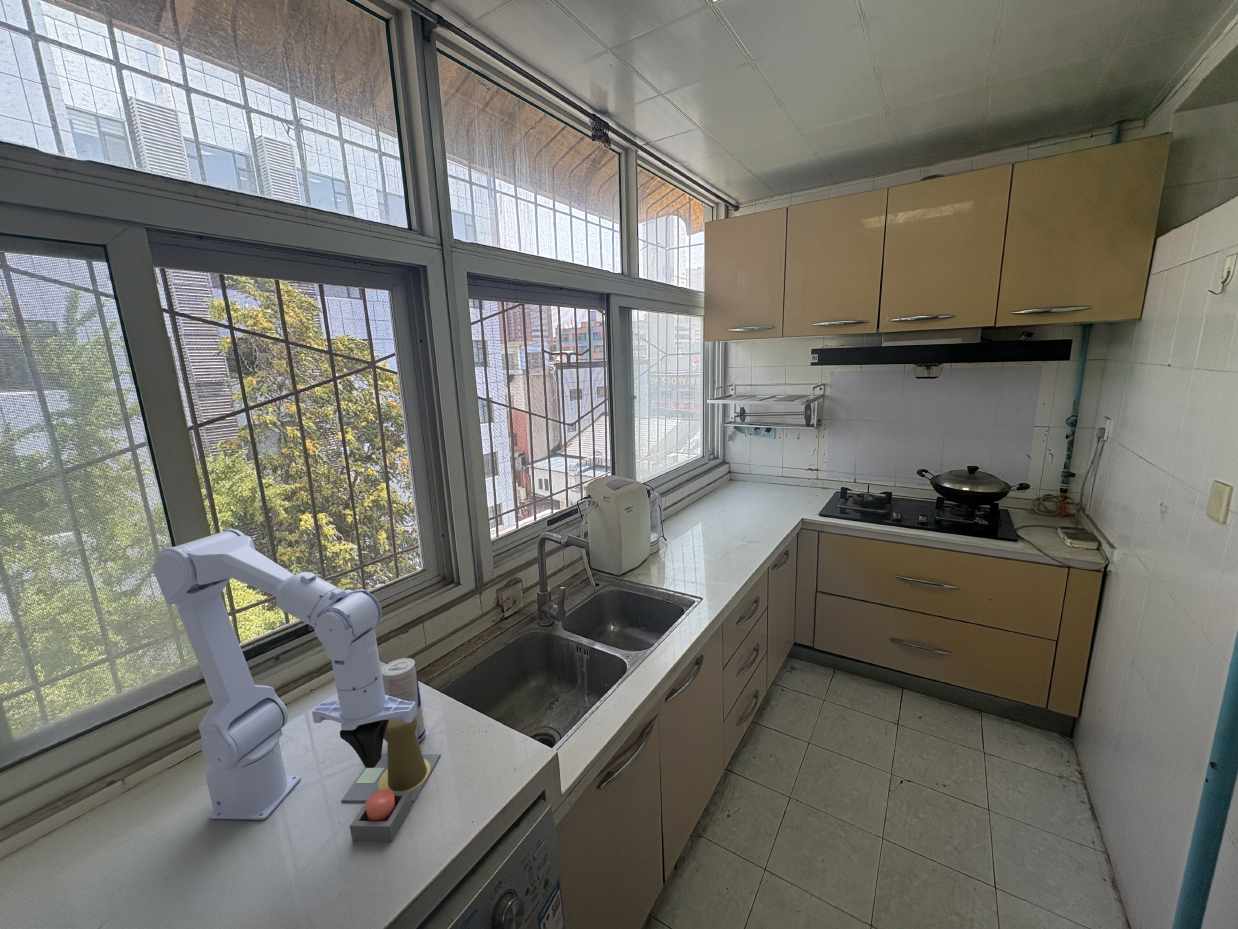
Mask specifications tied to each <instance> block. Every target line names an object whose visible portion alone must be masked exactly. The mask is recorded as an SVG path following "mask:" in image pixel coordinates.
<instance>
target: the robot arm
mask: <svg viewBox="0 0 1238 929" xmlns="http://www.w3.org/2000/svg"><path fill="white" fill-rule="evenodd" d="M152 570H153V573H154V576H155V578H156V582H157V584H158V586H159V588H160V590H161V594H162V596H163V598H164V600H165V602H166V604H167V605H175V608H176V610H177V613H178V615H179V618H180V621H181V623H182V626H183V629H184V631H185V633H186V636H187V639H188V640H189V642H190V646H191V648H192V650H193V653H194V656H195V659H196V661H197V664H198V666H199V668H200V671H201V673H202V677H203V678H204V682H205V684H206V687H207V689H208V692H209V693H210V694H209V695H210V697H211V699H212V701H213V703H212V704H211V705H210V708H209V709H208V711H207V712H206V714H205V715H204V717H203V719H202V720H201V721H200V723H199V725H198V729H199V734H200V737H201V752H202V754H203V757H204V758H205V760H206V761H207V762H208V763H209V765H208V767H207V771H206V779H205V780H206V783H207V784H206V785H207V789H208V792H209V793H208V794H209V796H210V801H211V804H212V809H213V811H211V813H210V814H209V816H208V818H209V819H211V820H212V819H214V820H265V819H267V818H268V816H270V815H271V813H273V811H274V810H275V809H276V808H277V807H278V806H279V804H280V803H281V802H282V801H283V800H284V799H285V798H286V796H287V795H288V794H289V793H290V792H291V791H292V790H293V788H295V786H296V785H297V784H298V783H299V782H300V780H301V779H302V776H301V775H287V774H286V769H285V764H284V760H283V755H282V750H281V744H280V740H279V739H280V738H281V737H282V736H283V732H282V731H283V730H282V729H283V728H284V727H285V726H286V724H287V723H288V719H289V718H288V709H287V707H286V704H284V702H283V701H282V700H281V699H280V698H279V696H278V695H277V693H276V691H275V688H274V687H272V686H269V685H262V684H260V685H259V684H255V682H254V679H253V677H252V674H251V670H250V669H249V666H248V663H247V661H246V657H245V655H244V653H243V651H242V650H243V649H242V648H241V646H240V643H239V640H238V637H237V635H236V632H235V629H234V627H233V625H232V621H231V619H230V616H229V614H228V612H227V609H226V606H225V603H224V600H223V598H222V593H223V591H224V589H225V588H226V586H227V585H228V583H229V581H230V580H232V579H234V580H235V581H238V582H241V583H242V584H246V585H248V586H251V587H252V588H255V589H257V590H259V591H261V592H264V593H267V594H269V595H272V596H274V597H275V603H276V606H277V608H278V609H279V610H280V611H283V612H285V613H287V614H288V615H291V617H293V618H296V619H298V620H299V621H301V622H303V623H305V624H307V625H309V626H311V627H312V628H313V630H314V634H315V635H316V638H317V639H318V640H319V641H320V643H321V644H322V646H323V647H324V651H325V655H326V656H327V658H328V660H331V664H332V671H333V676H334V682H335V686H336V687H335V688H336V693H337V698H338V699H337V700H332V701H325V702H324V701H322V702H320V703H318V705H317V706H316V707H315V708H313V709H312V711H311V715H312V719H313V720H312V721H313V724H321V723H322V722H323V721H333V722H336V723H339V724H340V727H341V728H340V731H339V737H340V739H342V740H344V741H345V742H346V743H347V744H349V746H350V747H352V749H353V750H354V752H355V753H356V754H357V755H358V757H359V759H360V761H361V762H362V764H363V767H364V769H365V768H374V767H375V766H376V765H377V763H378V762H379V761H380V759H381V756H382V754H383V753H382V752H383V744H384V735H385V731H386V728H387V725H388V722H389V720H404V722H405V723H411V722H412V720H413V719H414V718H415V716H416V715H417V707H416V702H410V701H404V700H401V699H398V698H394V697H391V696H388V695H385V691H384V685H383V679H382V672H381V671H382V667H381V661H380V656H379V654H380V653H379V650H378V648H379V647H378V643H377V642H378V641H377V635H376V629H375V626H376V625H378V624H379V622H380V621H381V619H382V617H383V616H382V611H383V610H382V606H381V604H380V602H379V600H378V599H377V598H376V596H375V595H374V594H372V593H370V592H369V591H368V590H367V589H363V588H358V589H355V590H351V589H346V590H344V589H342V588H340V587H339V586H336V585H335V584H332V583H330V582H329V581H326V580H324V579H323V578H320V577H318V576H317V574H315V573H314V572H311V571H302V572H299V573H296V574H293V573H292V572H290V571H289V570H287V569H286V568H284V567H283V566H281V565H279V564H278V563H276V562H275V561H273V560H271V559H270V558H268V557H267V556H265V555H264V554H263V553H260V552H259V551H258V550H256V547H255V544H254V541H253V538H251V536H249V535H246V534H244V533H243V532H241V531H240V530H238V529H235V528H228V529H225V530H223V531H221V532H217V533H215V534H212V535H209V536H205V537H202V538H199V539H194V540H192V541H189V542H186V543H183V544H179V545H176V546H171V547H169V546H168V547H166V548H164V549H162V550H161V551H160V552H159V553H158V554H157V557H156V559H155V561H154V563H153V566H152Z"/></svg>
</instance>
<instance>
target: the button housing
mask: <svg viewBox="0 0 1238 929" xmlns="http://www.w3.org/2000/svg"><path fill="white" fill-rule="evenodd" d="M376 792H378V791H373V792H372V794H371V795H373V794H374V793H376ZM393 793H394V799H395V805H396V808H395V809H394V811H393V813H392V814H391V816H390V818H389V819H388V821H368V818H367V812H366V806H365V805H366V802H367V801H366V802H364V803H363V806H362V807H361V808H360V810H359V811H358V813H357V814H356V816H355V817H354V819H352V822H351V823H350V825H349V831H350V834H351V835H350V836H351V841H352V842H370V843H371V842H372V843H373V842H375V843H378V842H379V843H380V842H382V843H384V842H385V843H393V841H394V839H395V838H396V836H397V834H398V832H399V830H400V829H401V827H402V826H403V824H404V822H405V820H406V818H407V816H408V815H409V813H410V811H411V809H413V808H412V807H413V803H412V798H411V792H410V791H393ZM371 795H370V796H371Z"/></svg>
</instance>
